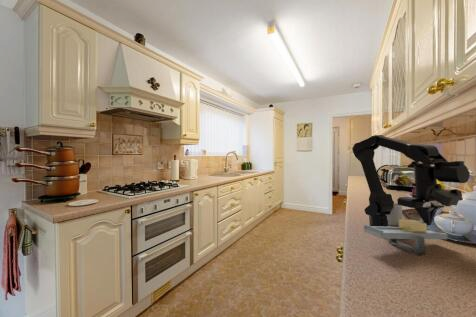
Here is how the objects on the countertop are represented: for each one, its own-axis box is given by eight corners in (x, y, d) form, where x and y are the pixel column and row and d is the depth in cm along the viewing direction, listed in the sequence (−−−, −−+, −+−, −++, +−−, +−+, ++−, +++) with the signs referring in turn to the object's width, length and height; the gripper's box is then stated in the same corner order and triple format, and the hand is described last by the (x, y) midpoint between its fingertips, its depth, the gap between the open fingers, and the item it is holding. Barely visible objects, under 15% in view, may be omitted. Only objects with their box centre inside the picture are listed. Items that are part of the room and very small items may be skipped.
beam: (362, 232, 71) (363, 224, 71) (423, 233, 76) (424, 225, 76) (382, 240, 64) (382, 231, 64) (448, 241, 68) (449, 232, 68)
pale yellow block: (398, 229, 72) (399, 219, 72) (412, 229, 73) (413, 219, 73) (411, 233, 68) (411, 222, 68) (426, 234, 69) (426, 223, 69)
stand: (388, 242, 75) (387, 227, 75) (394, 242, 75) (393, 227, 75) (419, 255, 64) (418, 238, 64) (425, 254, 65) (424, 237, 65)
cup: (382, 224, 96) (381, 205, 96) (384, 219, 103) (383, 201, 103) (402, 226, 91) (401, 206, 91) (403, 221, 98) (402, 202, 99)
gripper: (429, 184, 62) (432, 236, 62) (476, 181, 66) (479, 229, 65) (395, 181, 73) (397, 225, 73) (436, 178, 77) (439, 220, 76)
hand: (428, 225), depth 72 cm, fingers closed
